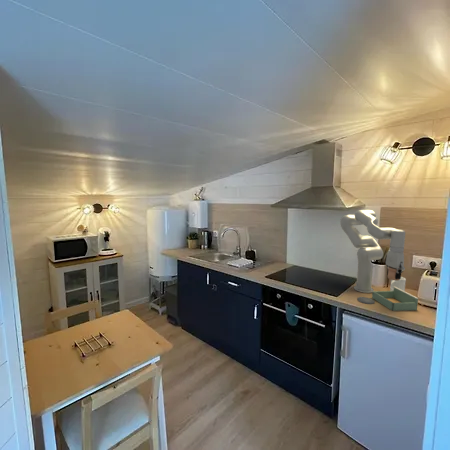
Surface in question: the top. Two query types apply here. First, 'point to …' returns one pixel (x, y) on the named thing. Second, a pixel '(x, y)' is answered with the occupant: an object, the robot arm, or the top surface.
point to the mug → (398, 284)
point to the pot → (392, 273)
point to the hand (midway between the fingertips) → (393, 276)
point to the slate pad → (366, 300)
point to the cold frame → (407, 299)
